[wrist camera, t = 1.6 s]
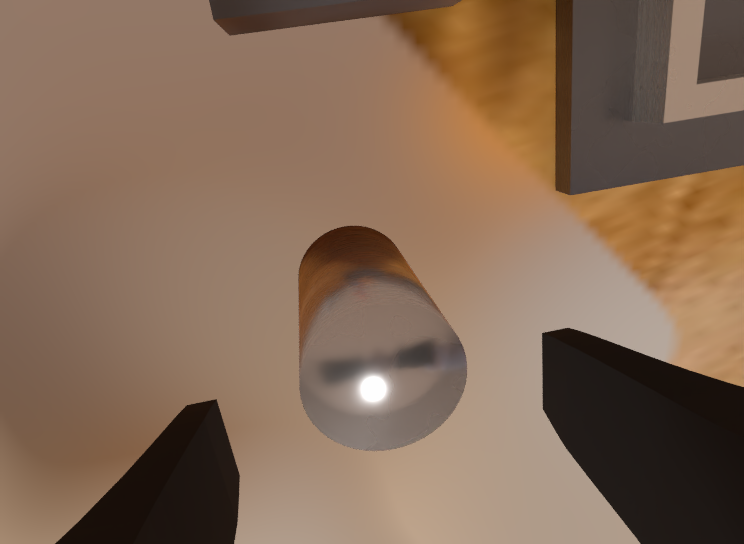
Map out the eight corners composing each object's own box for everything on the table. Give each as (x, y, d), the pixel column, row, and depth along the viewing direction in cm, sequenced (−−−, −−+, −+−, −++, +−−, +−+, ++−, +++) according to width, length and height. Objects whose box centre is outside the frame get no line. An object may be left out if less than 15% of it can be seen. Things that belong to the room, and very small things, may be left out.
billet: (410, 315, 19) (471, 431, 12) (309, 335, 18) (316, 465, 12) (398, 217, 17) (461, 288, 11) (288, 236, 17) (283, 322, 10)
